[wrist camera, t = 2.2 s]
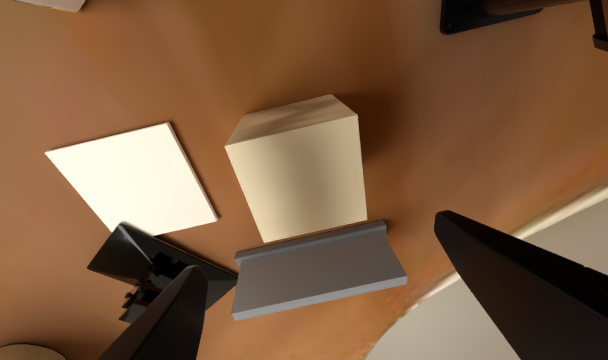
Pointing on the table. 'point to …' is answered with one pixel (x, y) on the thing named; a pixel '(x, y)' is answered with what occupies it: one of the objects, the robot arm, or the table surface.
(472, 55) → the table surface
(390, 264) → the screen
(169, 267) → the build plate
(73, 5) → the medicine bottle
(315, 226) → the letter block
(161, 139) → the reading pad
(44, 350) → the plant pot
